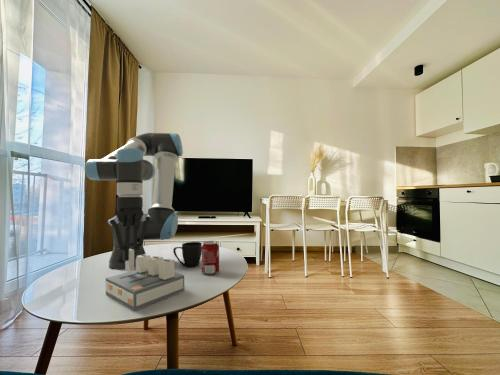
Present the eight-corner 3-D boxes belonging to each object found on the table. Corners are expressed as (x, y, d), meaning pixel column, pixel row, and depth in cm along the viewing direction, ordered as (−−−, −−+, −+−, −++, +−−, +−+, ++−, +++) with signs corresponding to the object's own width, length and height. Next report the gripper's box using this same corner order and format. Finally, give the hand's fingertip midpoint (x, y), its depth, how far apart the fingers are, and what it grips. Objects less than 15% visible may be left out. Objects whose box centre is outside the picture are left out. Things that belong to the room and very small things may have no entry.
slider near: (158, 277, 73) (158, 260, 73) (168, 274, 76) (168, 258, 76) (164, 279, 71) (164, 262, 71) (174, 276, 74) (174, 259, 74)
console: (104, 294, 74) (104, 277, 74) (153, 279, 87) (153, 265, 87) (133, 311, 63) (133, 292, 63) (184, 291, 76) (184, 274, 76)
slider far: (135, 271, 80) (135, 255, 80) (145, 268, 82) (145, 253, 83) (140, 272, 78) (140, 256, 78) (150, 270, 81) (150, 254, 81)
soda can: (215, 276, 89) (215, 244, 90) (198, 275, 91) (198, 243, 91) (221, 270, 96) (221, 240, 96) (205, 269, 97) (205, 240, 98)
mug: (170, 266, 102) (170, 244, 102) (197, 262, 109) (197, 241, 109) (176, 271, 95) (176, 247, 95) (204, 266, 102) (204, 244, 102)
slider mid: (148, 273, 77) (148, 257, 77) (158, 271, 80) (158, 255, 80) (153, 275, 75) (153, 259, 75) (163, 272, 78) (163, 256, 78)
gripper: (113, 196, 70) (113, 278, 69) (155, 196, 80) (155, 267, 79) (102, 196, 74) (102, 273, 74) (143, 196, 85) (143, 263, 84)
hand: (129, 270), depth 77 cm, fingers closed
